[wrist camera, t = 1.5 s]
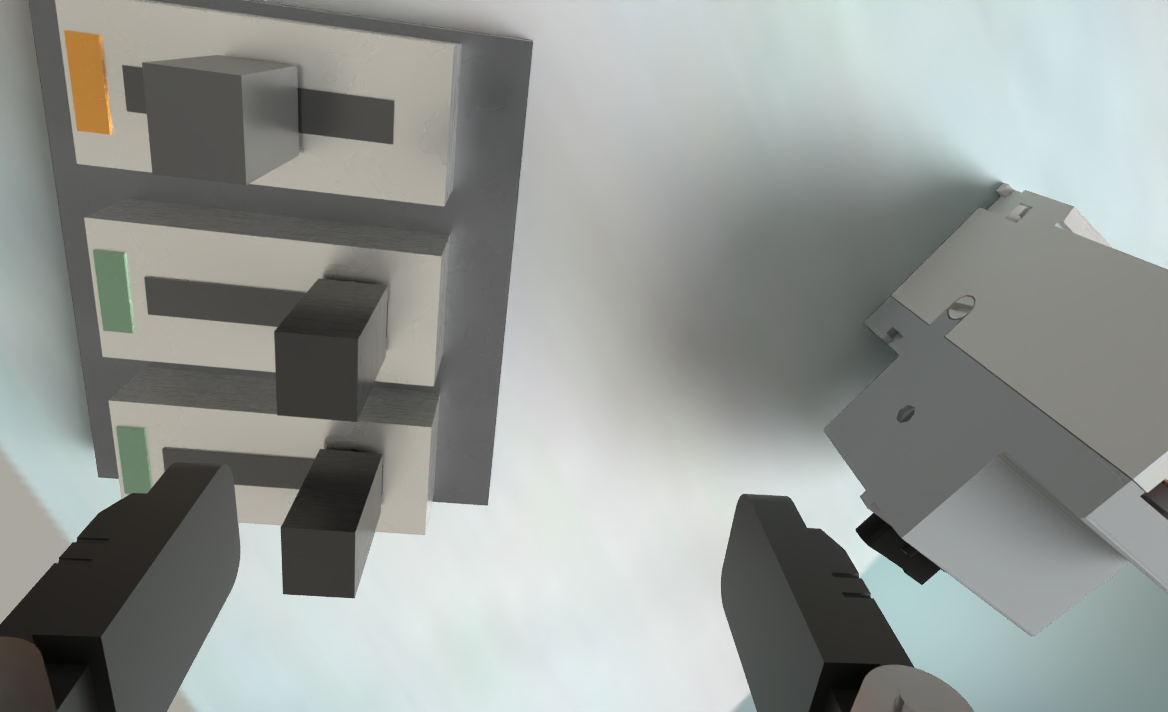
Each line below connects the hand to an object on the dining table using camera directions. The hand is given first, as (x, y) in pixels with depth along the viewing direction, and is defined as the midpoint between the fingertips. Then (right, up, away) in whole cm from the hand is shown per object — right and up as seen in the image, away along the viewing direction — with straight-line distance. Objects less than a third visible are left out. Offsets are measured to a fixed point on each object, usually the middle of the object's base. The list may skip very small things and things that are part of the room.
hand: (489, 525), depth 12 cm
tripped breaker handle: (-9, +11, +12) cm, 18 cm away
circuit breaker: (+18, +3, +23) cm, 30 cm away
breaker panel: (-10, +7, +20) cm, 23 cm away
